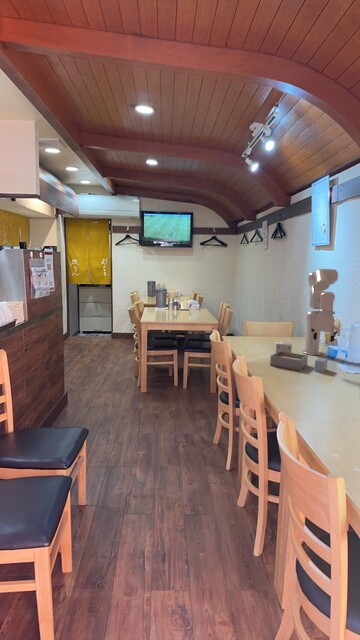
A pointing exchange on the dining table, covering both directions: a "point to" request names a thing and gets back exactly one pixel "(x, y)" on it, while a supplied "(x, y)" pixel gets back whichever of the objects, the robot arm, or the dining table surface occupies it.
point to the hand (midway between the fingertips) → (323, 340)
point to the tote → (289, 360)
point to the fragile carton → (321, 365)
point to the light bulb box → (283, 347)
